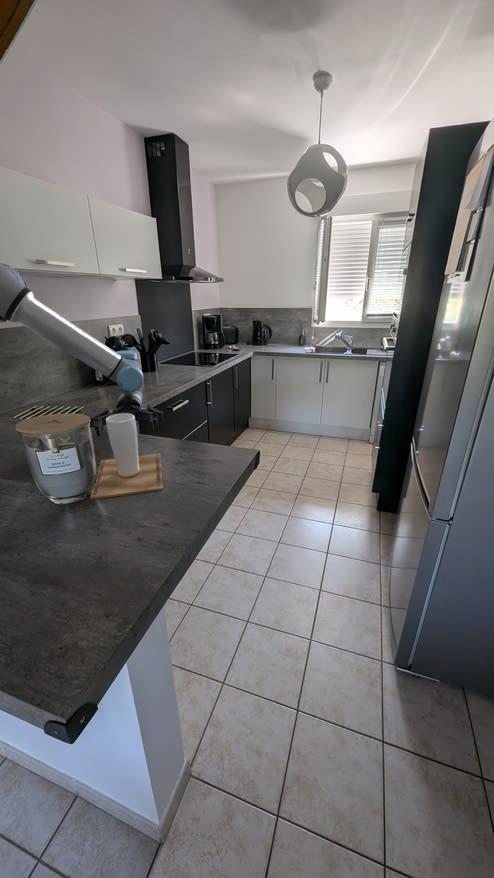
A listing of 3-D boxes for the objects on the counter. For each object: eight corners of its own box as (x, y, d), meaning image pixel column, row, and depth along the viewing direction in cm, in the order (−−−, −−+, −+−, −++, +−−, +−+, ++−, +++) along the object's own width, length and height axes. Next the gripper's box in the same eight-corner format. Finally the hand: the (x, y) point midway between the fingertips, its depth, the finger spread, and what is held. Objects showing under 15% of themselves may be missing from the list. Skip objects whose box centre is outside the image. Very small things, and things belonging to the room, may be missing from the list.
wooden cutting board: (101, 462, 98) (100, 459, 98) (160, 455, 102) (160, 453, 102) (90, 500, 80) (89, 497, 80) (162, 490, 84) (162, 487, 84)
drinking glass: (132, 481, 87) (123, 423, 81) (109, 477, 89) (99, 420, 83) (148, 468, 93) (140, 414, 87) (126, 465, 95) (117, 412, 89)
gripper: (170, 413, 117) (174, 437, 98) (89, 420, 112) (77, 447, 93) (168, 391, 114) (171, 411, 95) (85, 397, 109) (71, 420, 90)
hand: (125, 429), depth 94 cm, fingers open, 13 cm apart
